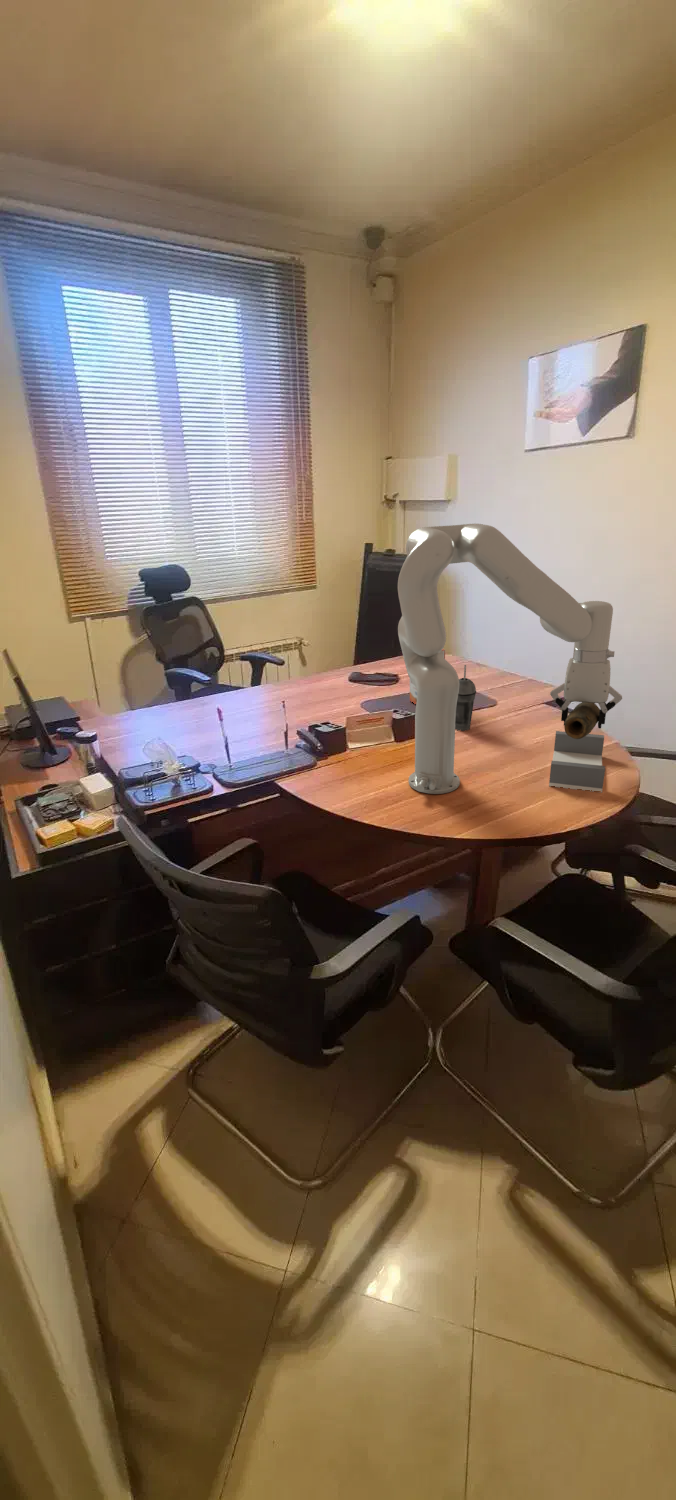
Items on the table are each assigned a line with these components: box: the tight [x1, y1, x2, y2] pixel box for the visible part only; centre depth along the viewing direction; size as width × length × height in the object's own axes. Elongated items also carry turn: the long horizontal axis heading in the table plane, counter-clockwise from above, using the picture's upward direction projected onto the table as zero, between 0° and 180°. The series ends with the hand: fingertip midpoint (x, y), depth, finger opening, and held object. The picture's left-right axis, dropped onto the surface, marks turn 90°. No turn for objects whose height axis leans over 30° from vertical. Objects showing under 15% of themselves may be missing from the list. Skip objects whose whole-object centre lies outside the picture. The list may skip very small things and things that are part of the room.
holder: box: [548, 730, 606, 793], centre depth 159 cm, size 22×12×6 cm, turn 159°
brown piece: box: [563, 702, 601, 739], centre depth 154 cm, size 15×7×7 cm, turn 152°
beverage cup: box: [455, 664, 477, 732], centre depth 186 cm, size 7×7×20 cm
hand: (582, 724), depth 155 cm, fingers closed on brown piece, 7 cm apart
